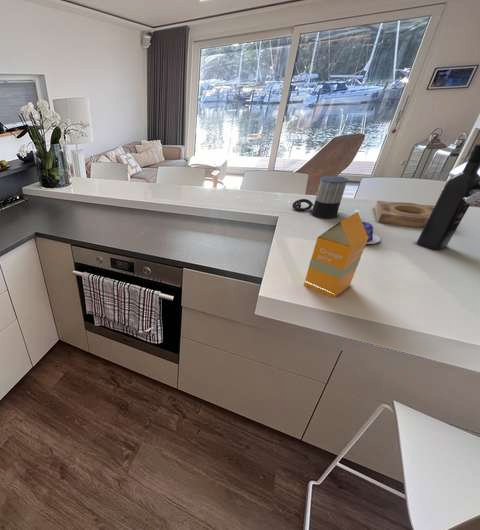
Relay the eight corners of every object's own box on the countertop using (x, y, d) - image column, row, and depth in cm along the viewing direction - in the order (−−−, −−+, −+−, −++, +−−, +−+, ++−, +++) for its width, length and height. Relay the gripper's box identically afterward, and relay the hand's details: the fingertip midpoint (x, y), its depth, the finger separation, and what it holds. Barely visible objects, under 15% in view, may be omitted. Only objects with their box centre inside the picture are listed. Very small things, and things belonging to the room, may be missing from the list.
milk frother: (339, 219, 113) (351, 182, 106) (294, 217, 119) (302, 181, 112) (331, 207, 125) (342, 172, 117) (290, 205, 130) (298, 172, 123)
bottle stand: (433, 213, 111) (437, 204, 109) (445, 230, 99) (450, 220, 97) (374, 208, 120) (377, 200, 118) (378, 222, 108) (381, 214, 106)
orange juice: (350, 285, 77) (377, 215, 67) (333, 298, 73) (360, 226, 63) (319, 274, 83) (340, 207, 73) (302, 285, 79) (322, 216, 69)
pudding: (332, 230, 106) (336, 216, 103) (372, 232, 102) (377, 218, 99) (340, 244, 97) (345, 229, 94) (385, 247, 92) (391, 232, 90)
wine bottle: (448, 246, 90) (505, 144, 74) (436, 251, 88) (492, 147, 73) (425, 240, 94) (475, 142, 79) (414, 243, 93) (463, 145, 77)
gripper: (481, 145, 84) (425, 180, 91) (551, 159, 67) (475, 200, 74) (492, 161, 85) (436, 193, 92) (564, 178, 68) (487, 216, 75)
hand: (454, 196), depth 83 cm, fingers closed on wine bottle, 7 cm apart
